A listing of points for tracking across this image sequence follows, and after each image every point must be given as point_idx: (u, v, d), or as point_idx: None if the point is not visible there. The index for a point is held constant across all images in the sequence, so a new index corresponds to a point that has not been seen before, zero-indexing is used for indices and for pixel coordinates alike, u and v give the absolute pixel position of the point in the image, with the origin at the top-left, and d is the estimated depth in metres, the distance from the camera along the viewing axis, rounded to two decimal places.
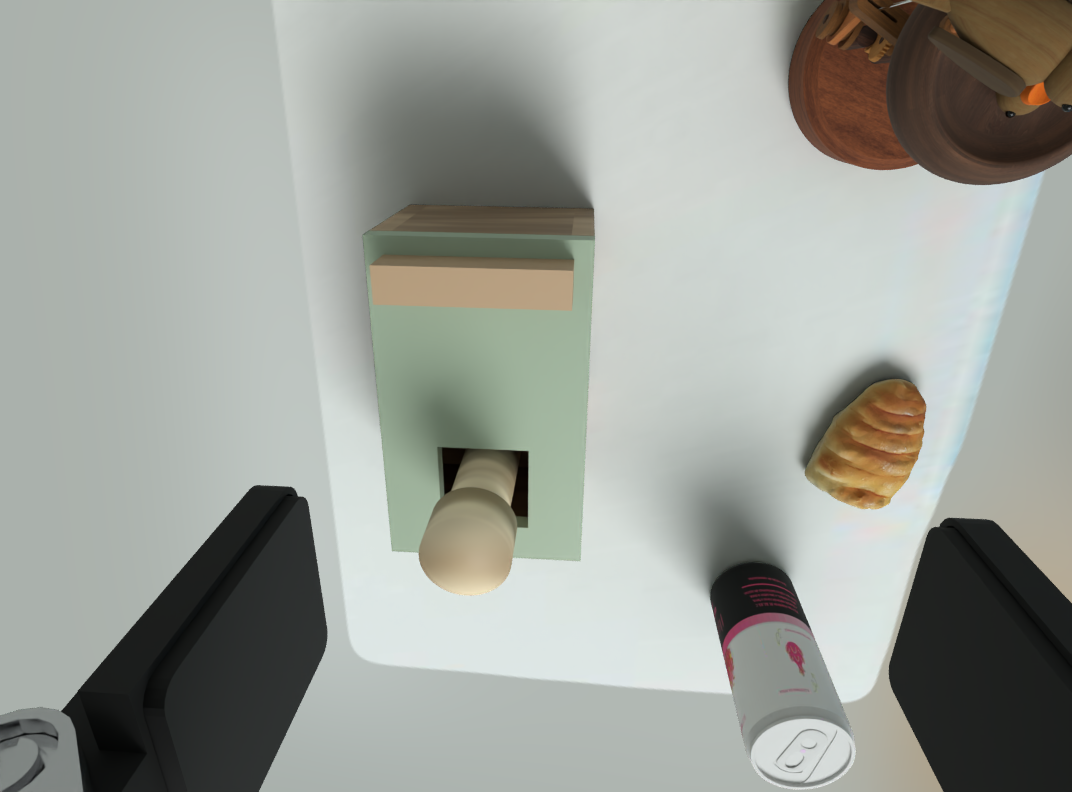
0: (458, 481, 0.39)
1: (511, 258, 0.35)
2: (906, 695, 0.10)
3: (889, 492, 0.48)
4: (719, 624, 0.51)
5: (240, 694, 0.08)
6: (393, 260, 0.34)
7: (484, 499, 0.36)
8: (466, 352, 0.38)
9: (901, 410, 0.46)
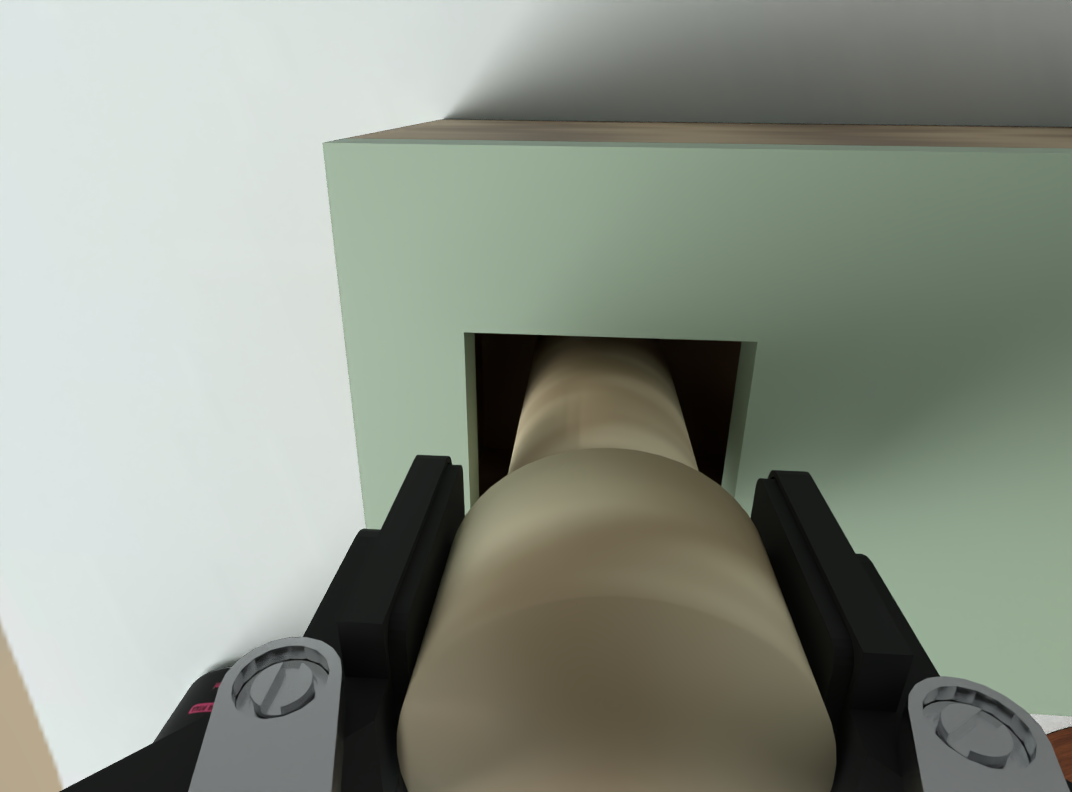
0: (682, 448, 0.12)
1: None
2: None
3: None
4: None
5: None
6: None
7: None
8: (1068, 449, 0.13)
9: None
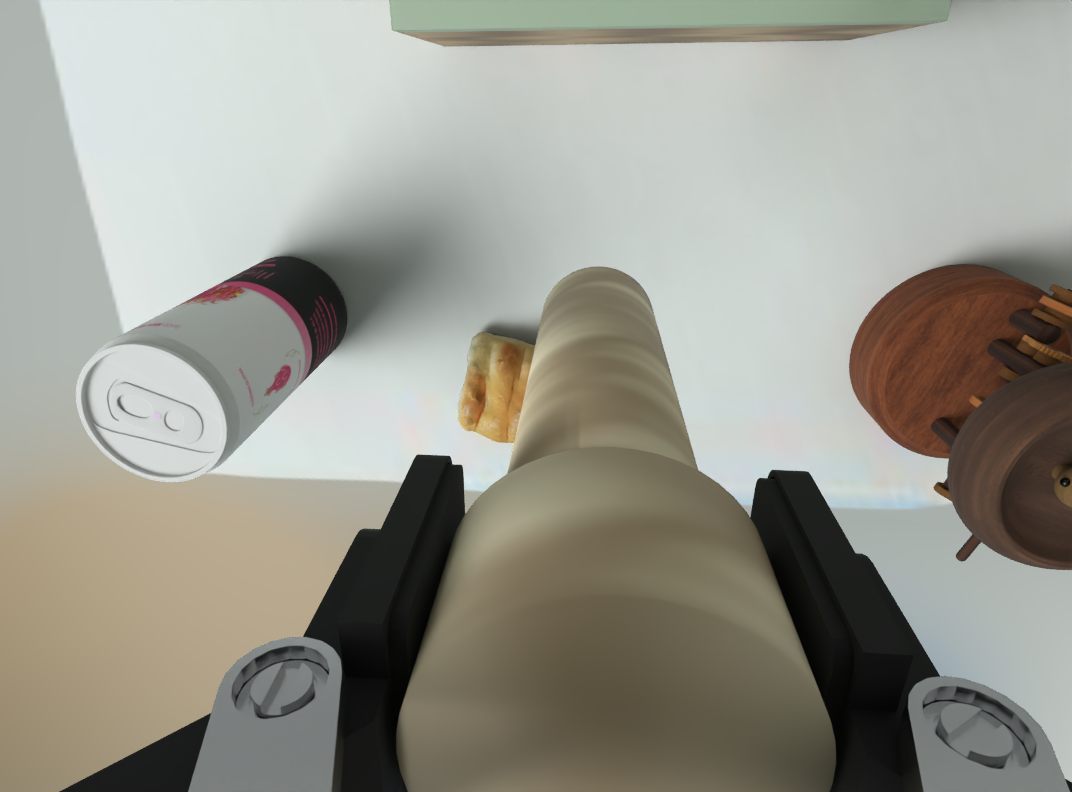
0: (682, 447, 0.12)
1: None
2: None
3: (483, 427, 0.40)
4: (260, 273, 0.36)
5: None
6: None
7: None
8: None
9: None
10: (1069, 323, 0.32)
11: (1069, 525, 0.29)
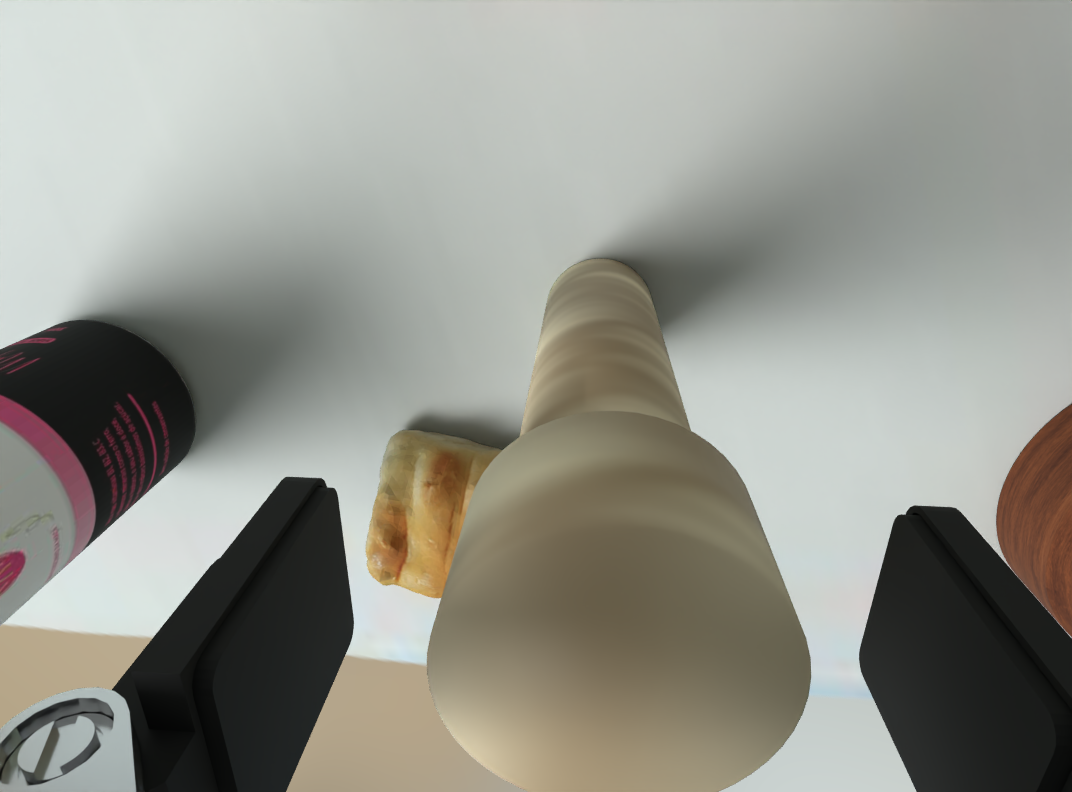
0: (678, 418, 0.13)
1: None
2: (874, 679, 0.10)
3: (408, 583, 0.25)
4: (9, 360, 0.21)
5: (278, 678, 0.09)
6: None
7: None
8: None
9: None
10: None
11: None
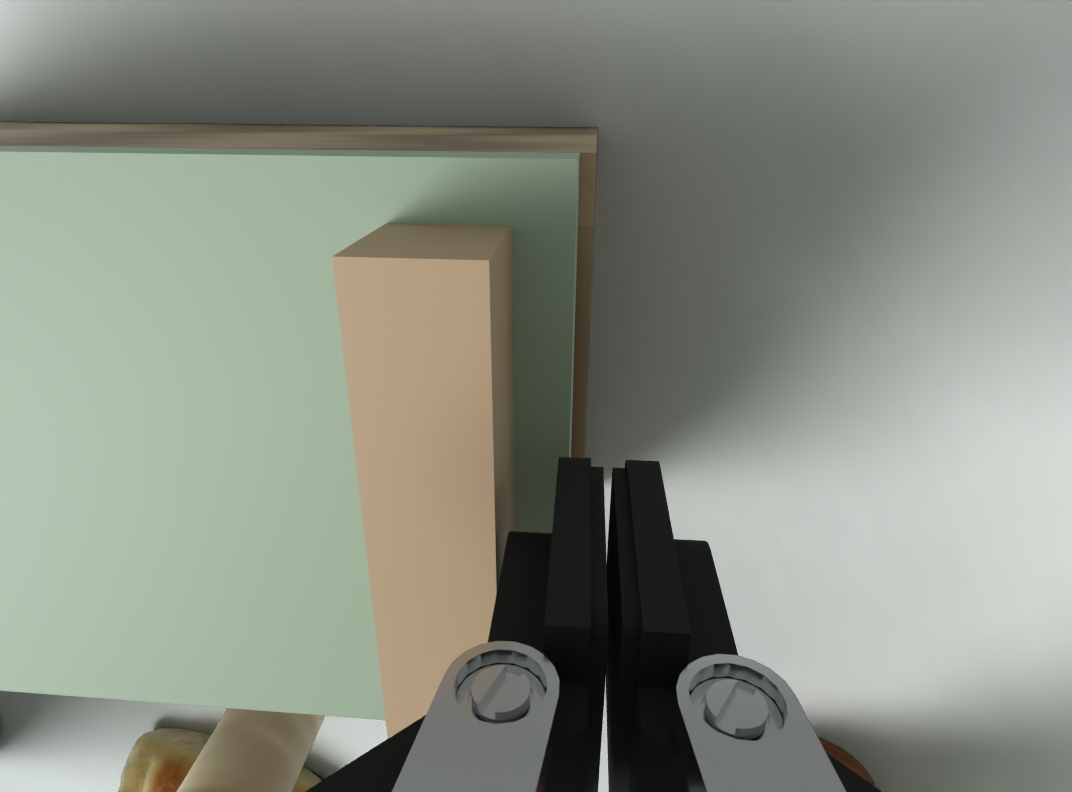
0: None
1: None
2: None
3: None
4: None
5: None
6: (502, 303, 0.10)
7: None
8: (232, 450, 0.13)
9: None
10: None
11: None
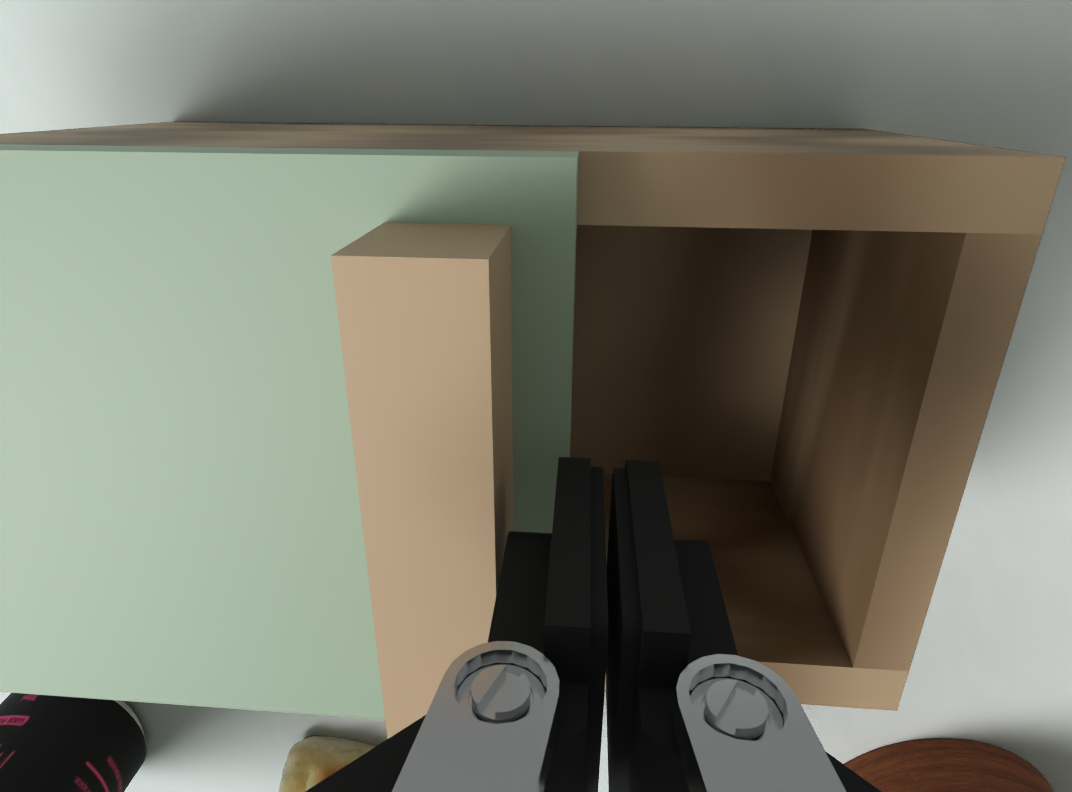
0: None
1: None
2: None
3: None
4: None
5: None
6: (501, 303, 0.10)
7: None
8: (230, 449, 0.13)
9: None
10: None
11: None
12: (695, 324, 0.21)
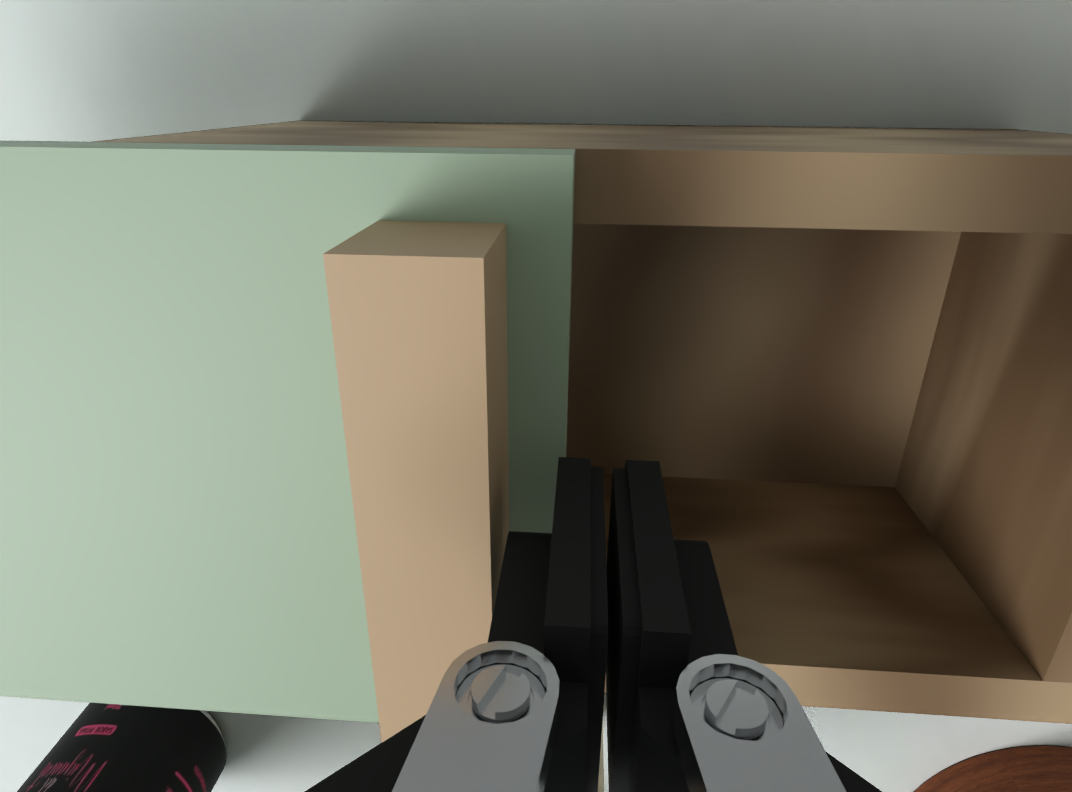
0: None
1: None
2: None
3: None
4: (83, 769, 0.26)
5: None
6: (496, 302, 0.10)
7: None
8: (222, 450, 0.13)
9: None
10: None
11: None
12: (831, 328, 0.20)
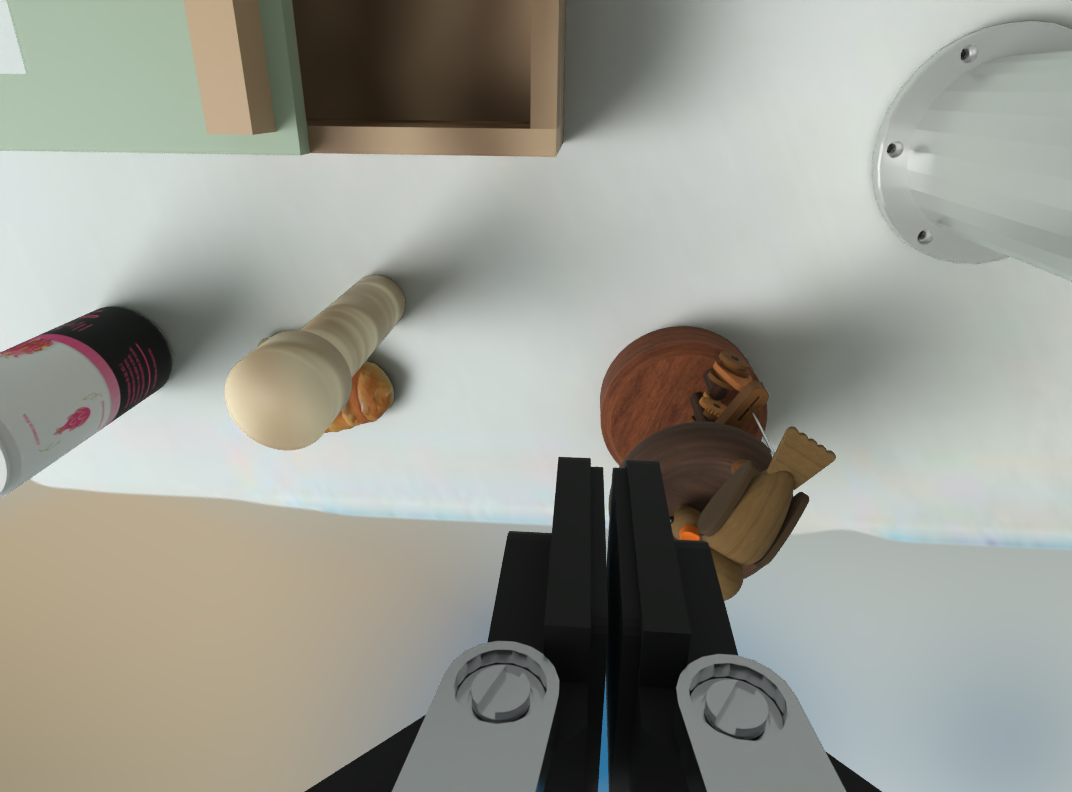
0: (342, 338, 0.35)
1: (264, 52, 0.30)
2: None
3: None
4: (78, 325, 0.42)
5: None
6: None
7: (344, 400, 0.32)
8: None
9: (363, 399, 0.45)
10: (730, 384, 0.39)
11: None
12: (488, 14, 0.37)
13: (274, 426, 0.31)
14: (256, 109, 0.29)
